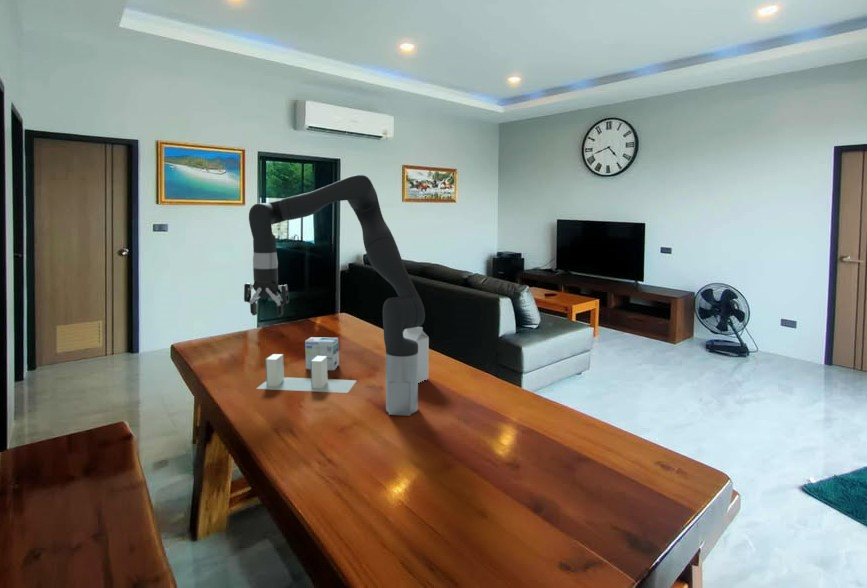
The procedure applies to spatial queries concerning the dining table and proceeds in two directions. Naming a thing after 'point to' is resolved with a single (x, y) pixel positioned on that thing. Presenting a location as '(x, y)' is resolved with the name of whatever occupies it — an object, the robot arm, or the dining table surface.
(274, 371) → the tile
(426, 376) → the milk carton
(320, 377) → the block
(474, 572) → the dining table surface
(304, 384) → the runner
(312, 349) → the light bulb box
